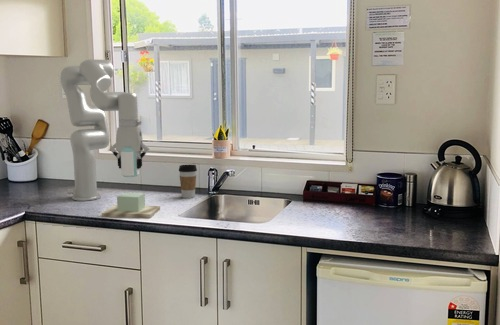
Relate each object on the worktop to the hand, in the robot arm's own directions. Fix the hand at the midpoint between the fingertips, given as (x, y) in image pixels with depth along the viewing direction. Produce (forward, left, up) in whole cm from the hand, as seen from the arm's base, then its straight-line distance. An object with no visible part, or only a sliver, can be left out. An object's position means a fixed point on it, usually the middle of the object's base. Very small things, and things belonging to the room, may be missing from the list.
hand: (130, 167), depth 221 cm
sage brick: (0, 0, -17) cm, 17 cm away
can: (0, 0, -4) cm, 4 cm away
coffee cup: (+16, +33, -19) cm, 41 cm away
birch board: (0, 0, -19) cm, 19 cm away
